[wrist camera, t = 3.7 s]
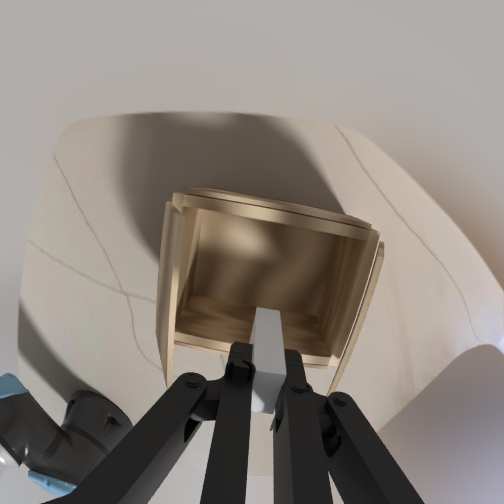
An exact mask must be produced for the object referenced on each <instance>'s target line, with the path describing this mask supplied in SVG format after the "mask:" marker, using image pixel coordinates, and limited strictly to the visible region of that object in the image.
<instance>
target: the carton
mask: <svg viewBox="0 0 504 504" xmlns="http://www.w3.org/2000/svg"><path fill="white" fill-rule="evenodd" d="M172 203H173V205H174V206H175V207H176V208H177V209H178V211H179V212H180V213H181V214H182V215H183V217H184V218H185V227H184V234H183V243H182V251H181V260H180V270H179V280H178V291H177V303H176V316H175V332H174V344H176V345H180V346H184V347H189V348H193V349H198V350H202V351H207V352H212V353H217V354H222V355H227V356H229V352H230V347H231V345H232V344H233V343H234V342H235V341H237V342H243V343H248V344H249V342H250V337H251V333H252V328H253V323H254V318H255V314H256V309H257V307H260V308H265V309H271V310H277V311H280V318H281V327H282V336H283V345H284V349H292V350H297V351H298V352H299V353H300V354H301V356H302V360H303V365H304V367H309V368H319V369H327V365H329V366H337V365H338V362H339V360H340V357H341V355H342V352H343V350H344V347H345V344H346V342H347V339H348V336H349V334H350V331H351V328H352V325H353V323H354V320H355V317H356V314H357V311H358V308H359V305H360V302H361V299H362V296H363V293H364V290H365V286H366V283H367V280H368V276H369V273H370V269H371V266H372V262H373V259H374V255H375V251H376V247H377V244H378V240H379V236H380V232H378V231H376V230H374V229H372V228H371V225H372V224H369V223H367V222H365V221H362V220H360V219H357V218H355V217H353V216H349V215H345V214H341V213H336V212H332V211H328V210H323V209H318V208H314V207H309V206H304V205H299V204H295V203H290V202H285V201H280V200H274V199H269V198H264V197H258V196H253V195H247V194H242V193H236V192H230V191H224V190H218V189H211V188H205V187H194V188H185V191H181V192H174V193H173V197H172Z"/></svg>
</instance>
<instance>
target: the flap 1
mask: <svg viewBox="0 0 504 504" xmlns="http://www.w3.org/2000/svg"><path fill="white" fill-rule="evenodd" d="M184 227H185V218H184V217H183V215H182V214H181V213H180V212H179V211H178V209H177V208H176V207H175V206H174V205H173V203H172V202H171V201H166V204H165V212H164V220H163V229H162V238H161V249H160V260H159V273H158V288H157V308H156V337H157V342H158V348H159V353H160V358H161V363H162V368H163V373H164V378H165V382H166V387H167V389H169V387H170V386H171V385H172V379H173V351H174V332H175V316H176V303H177V291H178V280H179V270H180V260H181V251H182V243H183V234H184Z"/></svg>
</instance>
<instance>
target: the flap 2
mask: <svg viewBox="0 0 504 504" xmlns="http://www.w3.org/2000/svg"><path fill="white" fill-rule="evenodd" d="M383 260H384V242H381V241H380V243H379V246H378V250H377V254H376V258H375V261H374V265H373V268H372V272H371V275H370V279H369V282H368V285H367V289H366V292H365V295H364V298H363V301H362V304H361V307H360V310H359V313H358V316H357V319H356V322H355V324H354V327H353V330H352V333H351V335H350V338H349V341H348V343H347V346H346V349H345V351H344V354H343V356H342V359H341V361H340V364H339V366H338V369H337V371H336V374H335V376H334V379H333V381H332V384H331V386H330V388H329V391H328V393H327V397H328V396H329V395H330V394H331V393H332V392H335V390H336V388H337V385H338V383H339V381H340V379H341V377H342V374H343V372H344V370H345V367H346V365H347V363H348V360H349V358H350V356H351V353H352V351H353V348H354V346H355V343H356V341H357V338H358V335H359V333H360V330H361V328H362V325H363V322H364V319H365V316H366V314H367V311H368V308H369V305H370V302H371V299H372V296H373V293H374V290H375V287H376V283H377V280H378V277H379V273H380V270H381V267H382V263H383Z"/></svg>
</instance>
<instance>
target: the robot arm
mask: <svg viewBox="0 0 504 504" xmlns="http://www.w3.org/2000/svg"><path fill="white" fill-rule="evenodd" d="M274 410H275V417H274V419H273V422H272V425H271V427H270V431H272V429H273V457H274V504H333V499H332V493H331V487H330V481H329V474H328V471H329V473H330V475H331V477H332V479H333V482H334V483H335V486H336V488H337V490H338V492H339V494H340V496H341V498H342V500H343V502H344V504H424V502H423V501H422V499H421V498H420V496H419V495H418V493H417V492H416V490H415V489H414V487H413V486H412V485H411V483H410V482H409V480H408V479H407V477H406V476H405V474H404V473H403V471H402V470H401V468H400V467H399V466H398V464H397V463H396V461H395V460H394V458H393V457H392V455H391V454H390V453H389V451H388V449H387V448H386V447H385V445H384V444H383V442H382V441H381V439H380V438H379V436H378V435H377V433H376V432H375V431H374V429H373V428H372V426H371V425H370V423H369V422H368V420H367V419H366V417H365V416H364V414H363V413H362V412H361V410H360V409H359V407H358V406H357V404H356V403H355V401H354V400H353V398H352V397H351V396H350V395H348V394H346V393H343V392H332V393H331V394H330V395H329V396H328V397H327V396H323V395H320V394H317V393H315V392H313V389H312V387H311V385H309V384H308V383H307V381H306V376H305V371H304V365H303V360H302V356H301V354H300V353H299V352H298V351H297V350H292V349H284V345H283V336H282V327H281V318H280V311H277V310H271V309H265V308H260V307H257V309H256V314H255V318H254V323H253V328H252V333H251V337H250V342H249V344H248V343H243V342H237V341H235V342H234V343H233V344H232V345H231V347H230V352H229V357H228V362H227V364H226V370H225V375H224V376H223V377H222V378H220V379H217V380H212V381H207V380H206V379H205V377H204V376H202V375H200V374H198V373H194V372H188V373H184V374H182V375H180V376H179V377H178V378H177V380H176V381H175V382H174V383H173V384H172V385H171V386H170V387H169V389H168V390H167V391H166V392H165V393H164V394H163V395H162V396H161V397H160V399H159V400H158V401H157V402H156V403H155V404H154V405H153V406H152V407H151V408H150V410H149V411H148V412H147V413H146V414H145V415H144V416H143V417H142V418H141V419H140V421H139V422H138V423H137V424H136V425H135V426H134V427H133V425H132V423H131V422H130V420H129V419H128V417H127V416H126V415H125V414H124V413H123V412H122V411H121V410H120V409H119V408H118V407H116V406H115V405H114V404H113V403H111V402H110V401H108V400H107V399H105V398H103V397H101V396H99V395H97V394H95V393H92V392H88V391H77V392H75V393H74V394H73V396H72V397H71V398H70V400H69V402H68V405H67V409H66V413H65V417H64V421H63V424H62V425H61V427H59V426H58V424H57V423H56V422H55V421H54V420H53V419H52V418H51V417H50V416H49V415H48V414H47V413H46V412H45V411H44V409H43V408H42V407H41V406H40V405H39V404H38V402H37V401H36V400H35V399H34V397H33V396H32V395H31V394H30V391H29V390H28V389H26V388H25V387H24V386H23V384H22V383H21V382H20V381H19V379H18V378H17V377H16V376H15V375H13V374H11V373H6V374H4V375H2V376H1V377H0V476H1V474H2V473H3V472H4V470H5V469H6V468H8V467H11V468H19V467H20V465H21V464H22V462H23V463H24V464H25V465H26V466H27V467H28V468H29V469H30V470H29V471H28V476H29V478H30V479H31V480H32V481H34V483H36V484H37V485H39V486H40V487H41V488H43V489H44V490H46V491H47V492H49V493H51V494H52V495H54V496H56V497H58V498H56V499H53V500H51V501H48V502H45V503H41V504H147V503H148V502H149V500H150V499H151V497H152V496H153V495H154V493H155V492H156V491H157V489H158V488H159V486H160V485H161V484H162V482H163V481H164V479H165V478H166V476H167V475H168V474H169V472H170V471H171V469H172V468H173V466H174V465H175V463H176V462H177V460H178V459H179V457H180V456H181V454H182V453H183V451H184V450H185V448H186V447H187V445H188V444H189V442H190V441H191V439H192V438H193V436H194V435H195V433H196V432H197V430H198V429H199V427H200V426H201V424H202V422H203V421H211V420H216V422H215V427H214V432H213V437H212V443H211V448H210V453H209V458H208V463H207V469H206V474H205V479H204V484H203V489H202V495H201V500H200V504H245V497H246V483H247V468H248V452H249V437H250V421H251V411H253V412H261V413H269V414H273V412H274Z"/></svg>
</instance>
